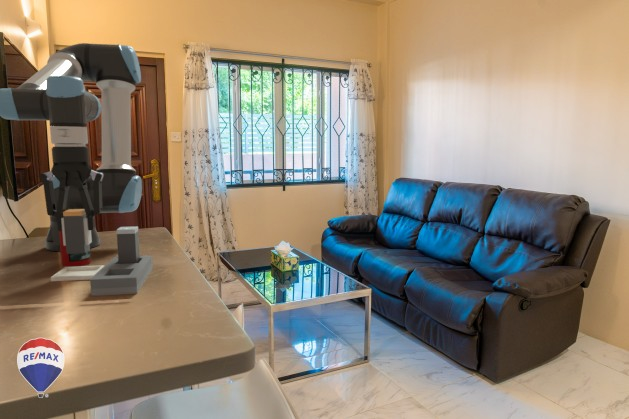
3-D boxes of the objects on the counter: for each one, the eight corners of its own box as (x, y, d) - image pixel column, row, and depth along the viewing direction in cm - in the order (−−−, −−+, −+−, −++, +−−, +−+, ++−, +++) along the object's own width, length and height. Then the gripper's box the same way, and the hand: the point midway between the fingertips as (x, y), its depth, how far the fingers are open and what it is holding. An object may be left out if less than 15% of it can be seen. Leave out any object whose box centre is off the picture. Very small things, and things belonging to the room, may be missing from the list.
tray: (65, 272, 110) (65, 266, 110) (104, 271, 112) (104, 265, 111) (50, 283, 101) (50, 277, 101) (94, 281, 103) (93, 275, 102)
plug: (72, 249, 108) (69, 209, 106) (89, 248, 108) (87, 208, 107) (66, 253, 104) (63, 211, 102) (84, 253, 104) (81, 211, 103)
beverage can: (78, 270, 112) (75, 223, 111) (55, 268, 114) (52, 222, 112) (96, 263, 119) (93, 219, 117) (74, 262, 120) (71, 218, 118)
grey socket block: (115, 272, 111) (114, 256, 110) (153, 270, 112) (152, 255, 112) (91, 298, 91) (90, 279, 91) (137, 295, 93) (136, 277, 92)
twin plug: (122, 267, 108) (120, 226, 106) (140, 266, 109) (138, 226, 107) (118, 271, 104) (116, 229, 103) (136, 270, 105) (134, 229, 103)
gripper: (22, 145, 97) (32, 249, 100) (105, 146, 100) (111, 246, 104) (36, 145, 104) (45, 241, 108) (113, 145, 107) (119, 239, 111)
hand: (77, 243), depth 106 cm, fingers closed on plug, 4 cm apart
